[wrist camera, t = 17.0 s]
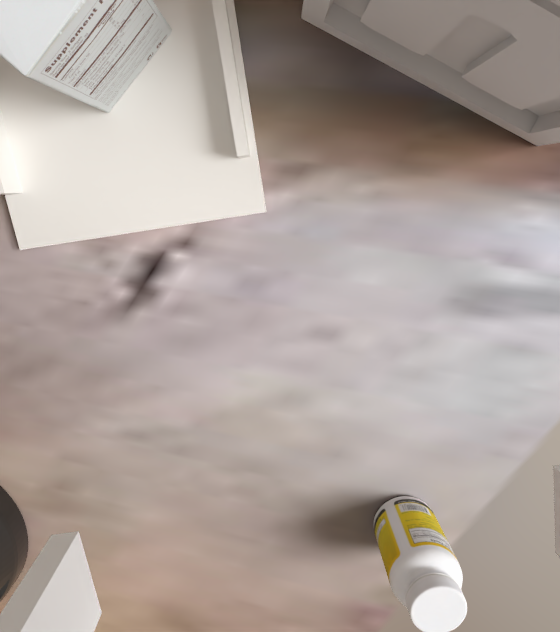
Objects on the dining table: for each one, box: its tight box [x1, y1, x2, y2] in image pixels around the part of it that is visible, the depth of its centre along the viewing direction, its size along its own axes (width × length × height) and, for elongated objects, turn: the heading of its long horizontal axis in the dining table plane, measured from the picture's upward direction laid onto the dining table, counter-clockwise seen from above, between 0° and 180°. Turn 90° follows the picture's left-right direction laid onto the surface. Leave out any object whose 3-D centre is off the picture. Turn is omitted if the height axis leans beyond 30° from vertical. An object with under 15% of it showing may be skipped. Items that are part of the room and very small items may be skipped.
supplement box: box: [0, 0, 172, 113], centre depth 28 cm, size 7×7×13 cm
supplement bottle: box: [373, 496, 467, 632], centre depth 40 cm, size 5×5×10 cm
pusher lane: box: [0, 0, 266, 250], centre depth 30 cm, size 19×25×11 cm
